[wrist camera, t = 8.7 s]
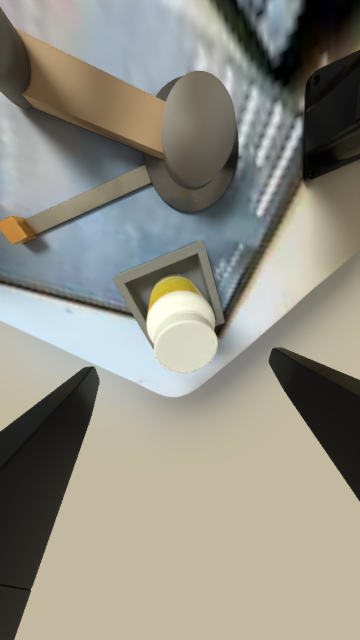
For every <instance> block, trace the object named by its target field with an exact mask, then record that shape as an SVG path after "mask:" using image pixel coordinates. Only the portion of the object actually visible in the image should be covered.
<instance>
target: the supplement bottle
mask: <svg viewBox="0 0 360 640" xmlns="http://www.w3.org/2000/svg"><path fill="white" fill-rule="evenodd" d="M146 326H147V332H148V335H149V338H150V339H151V341H152V342H153V344H154V353H155V357H156V359H157V361H158V362H159V363H160V364H161V365H162V366H163V367H164V368H166V369H168V370H170V371H174V372H179V373H188V372H193V371H196V370H199V369H201V368H203V367H204V366H206V365H207V364H208V363H209V362H210V361H211V360H212V359H213V358H214V356H215V354H216V352H217V349H218V339H217V336H216V334H215V332H214V328H215V316H214V312H213V310H212V308H211V306H210V305H209V303H208V302H207V301H206V299H205V298H204V297H203V295H202V294H201V293H200V291H199V290H198V288H197V287H196V286H195V284H194V283H193V282H192V281H191V280H190V279H189V278H187V277H185V276H183V275H179V274H171V275H167V276H164V277H163V278H161V279H160V280H159V281H158V282H157V283H156V284H155V286H154V287H153V290H152V292H151V297H150V303H149V308H148V314H147V323H146Z"/></svg>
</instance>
